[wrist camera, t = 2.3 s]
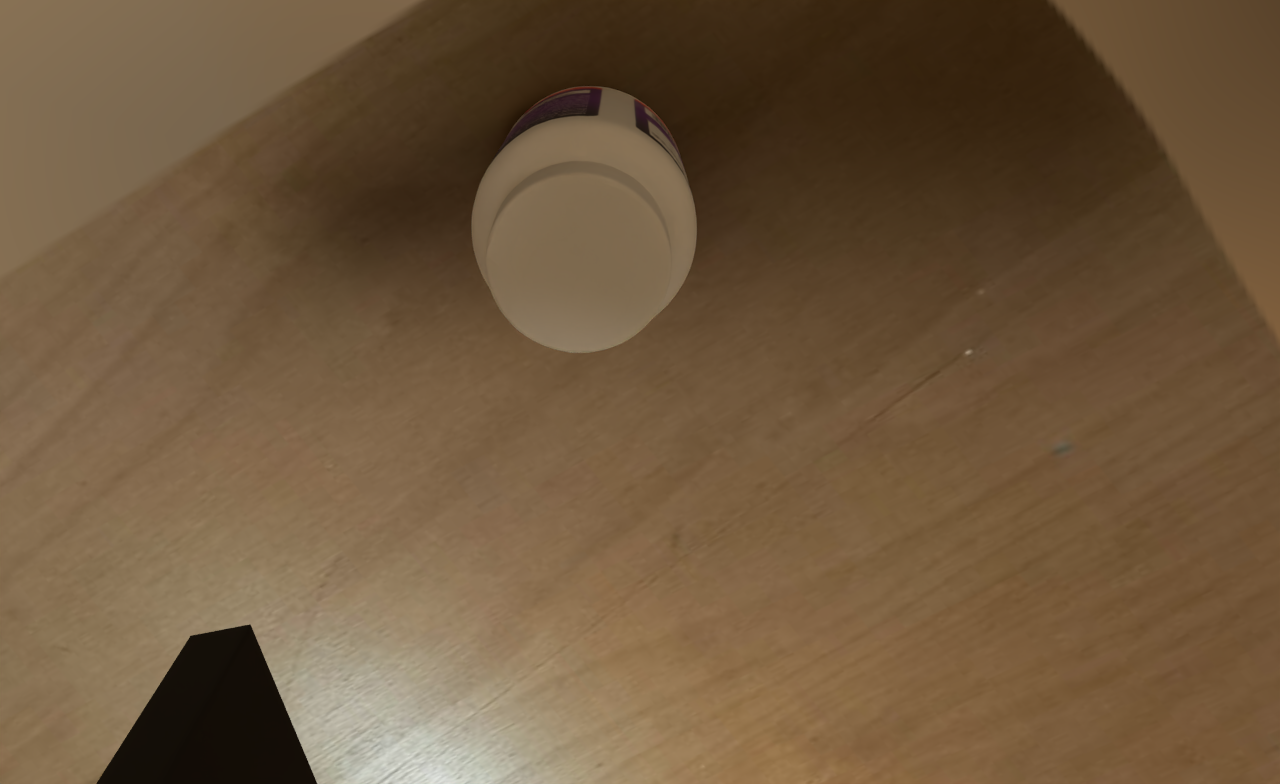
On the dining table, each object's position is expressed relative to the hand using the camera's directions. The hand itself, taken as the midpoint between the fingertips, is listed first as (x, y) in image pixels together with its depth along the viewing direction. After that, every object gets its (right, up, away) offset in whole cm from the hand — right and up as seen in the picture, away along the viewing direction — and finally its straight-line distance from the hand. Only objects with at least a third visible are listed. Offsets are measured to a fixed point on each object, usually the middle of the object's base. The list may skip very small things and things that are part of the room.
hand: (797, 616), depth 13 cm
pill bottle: (-3, +9, +19) cm, 21 cm away
